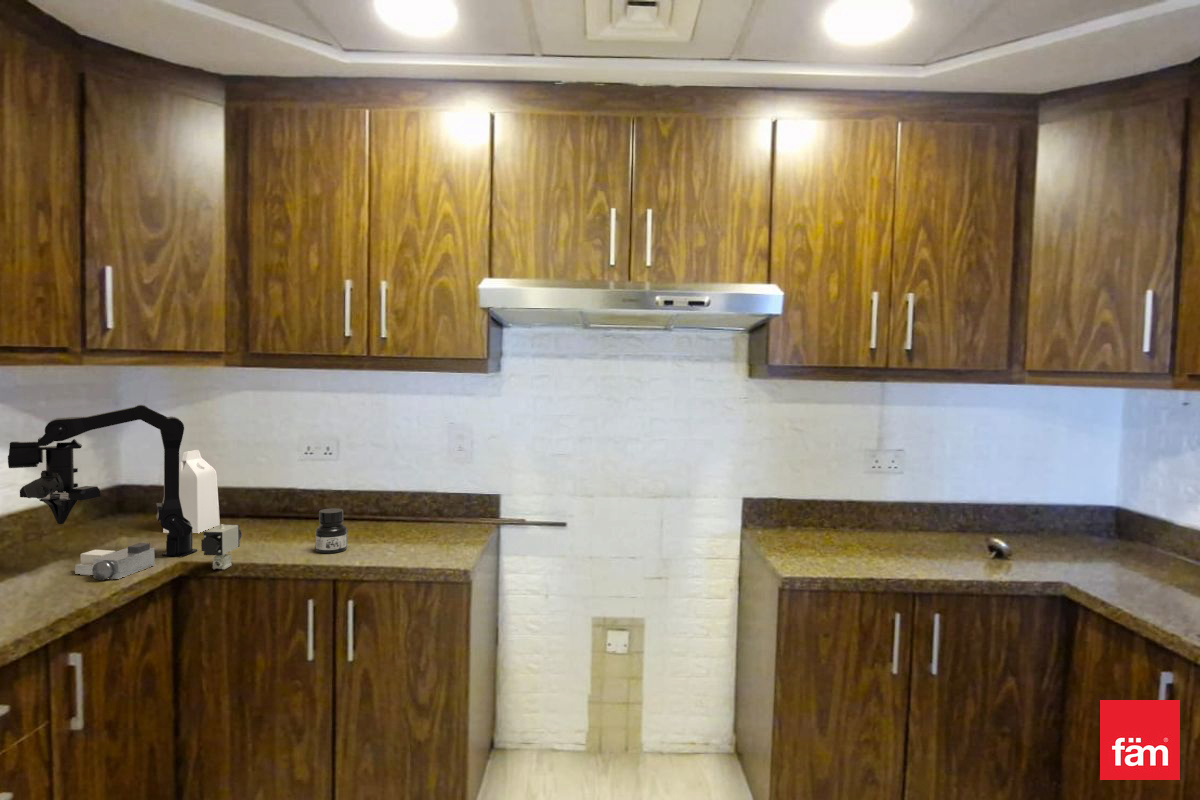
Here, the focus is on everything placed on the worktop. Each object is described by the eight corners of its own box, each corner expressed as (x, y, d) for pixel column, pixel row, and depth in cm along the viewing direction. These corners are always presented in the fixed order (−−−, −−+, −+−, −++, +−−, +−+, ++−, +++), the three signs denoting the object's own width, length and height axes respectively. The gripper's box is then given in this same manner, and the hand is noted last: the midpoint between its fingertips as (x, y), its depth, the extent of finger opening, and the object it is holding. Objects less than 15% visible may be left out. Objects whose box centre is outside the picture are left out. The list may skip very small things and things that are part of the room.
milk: (186, 524, 232) (186, 448, 231) (219, 525, 232) (219, 449, 231) (163, 532, 220) (162, 453, 219) (197, 533, 220) (196, 454, 219)
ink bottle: (313, 555, 199) (313, 514, 198) (314, 547, 207) (314, 508, 206) (348, 552, 202) (348, 512, 202) (348, 545, 211) (348, 506, 210)
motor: (107, 563, 187) (107, 539, 187) (154, 566, 185) (154, 542, 185) (63, 578, 173) (62, 553, 173) (113, 581, 172) (112, 556, 172)
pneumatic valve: (242, 561, 191) (242, 519, 190) (218, 574, 179) (217, 529, 179) (223, 561, 191) (222, 519, 190) (197, 574, 179) (197, 529, 179)
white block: (95, 567, 183) (94, 549, 183) (119, 569, 182) (119, 551, 182) (80, 572, 179) (80, 554, 178) (105, 574, 178) (105, 555, 178)
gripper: (-2, 468, 174) (-1, 529, 174) (64, 472, 171) (65, 533, 172) (39, 462, 185) (40, 519, 185) (101, 465, 182) (102, 523, 183)
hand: (60, 523), depth 181 cm, fingers closed
